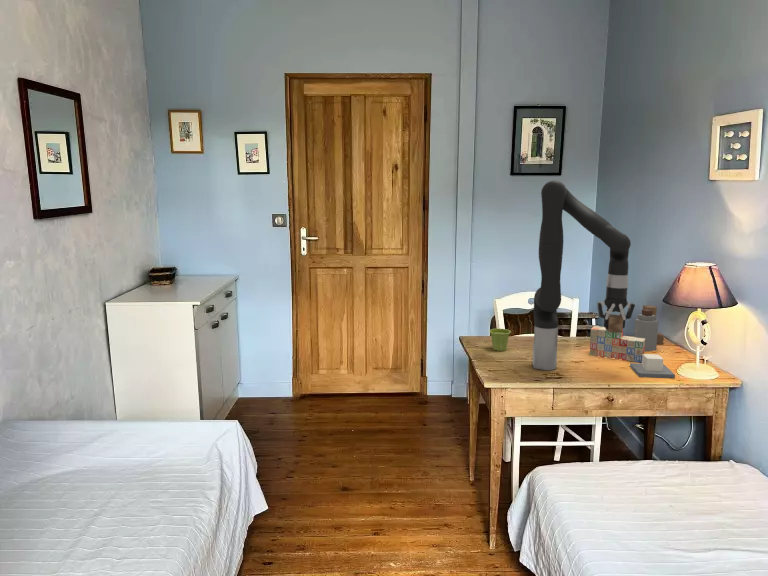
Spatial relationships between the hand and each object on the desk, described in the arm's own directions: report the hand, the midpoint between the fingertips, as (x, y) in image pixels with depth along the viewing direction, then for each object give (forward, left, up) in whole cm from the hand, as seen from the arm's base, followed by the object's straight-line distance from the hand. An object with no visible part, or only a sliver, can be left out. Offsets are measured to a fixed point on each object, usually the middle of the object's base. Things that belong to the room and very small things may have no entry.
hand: (613, 328), depth 222 cm
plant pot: (-42, +29, -18) cm, 54 cm away
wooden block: (+29, +47, -18) cm, 58 cm away
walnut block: (0, 0, -1) cm, 1 cm away
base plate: (+16, +3, -18) cm, 25 cm away
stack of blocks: (+7, +23, -19) cm, 30 cm away
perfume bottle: (+23, +37, -18) cm, 47 cm away
